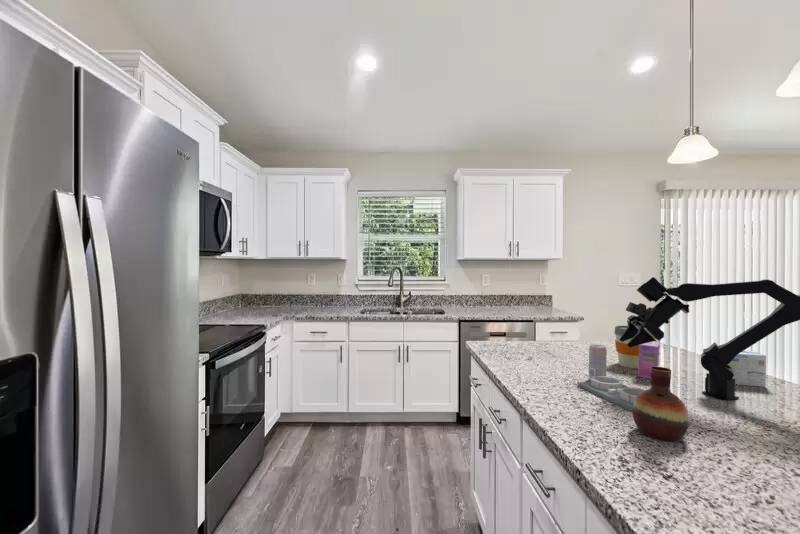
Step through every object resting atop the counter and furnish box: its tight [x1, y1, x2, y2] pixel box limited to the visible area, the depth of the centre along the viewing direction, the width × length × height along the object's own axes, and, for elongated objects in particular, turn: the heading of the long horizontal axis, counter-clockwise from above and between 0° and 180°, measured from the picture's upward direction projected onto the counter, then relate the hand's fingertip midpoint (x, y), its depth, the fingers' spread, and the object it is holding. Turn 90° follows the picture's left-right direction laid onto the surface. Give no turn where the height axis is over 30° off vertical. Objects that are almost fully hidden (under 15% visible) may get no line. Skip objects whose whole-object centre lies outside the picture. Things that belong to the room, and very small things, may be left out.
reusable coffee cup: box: [614, 325, 639, 369], centre depth 153 cm, size 13×13×15 cm
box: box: [637, 341, 660, 380], centre depth 139 cm, size 10×6×12 cm, turn 143°
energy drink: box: [588, 344, 608, 382], centre depth 131 cm, size 5×5×12 cm
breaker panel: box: [577, 375, 646, 412], centre depth 116 cm, size 22×13×3 cm, turn 12°
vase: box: [631, 366, 690, 442], centre depth 90 cm, size 11×11×15 cm
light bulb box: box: [728, 350, 767, 388], centre depth 131 cm, size 11×7×11 cm, turn 74°
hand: (624, 343), depth 129 cm, fingers open, 9 cm apart
